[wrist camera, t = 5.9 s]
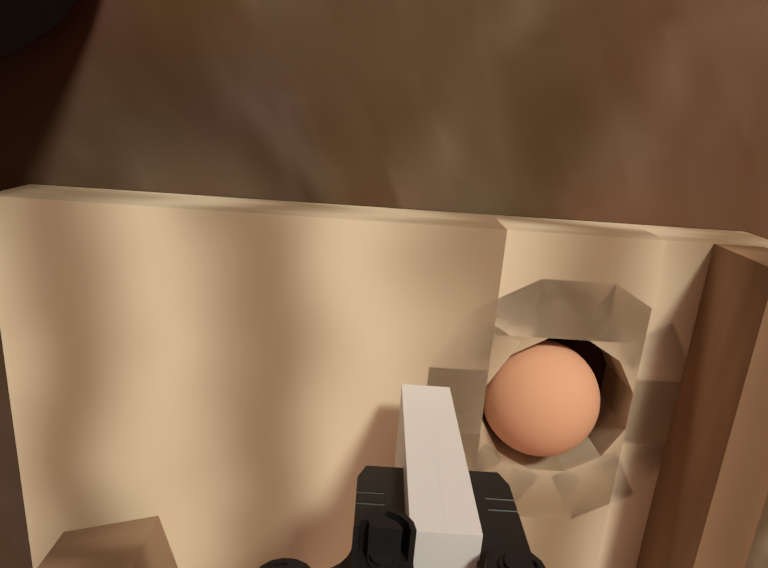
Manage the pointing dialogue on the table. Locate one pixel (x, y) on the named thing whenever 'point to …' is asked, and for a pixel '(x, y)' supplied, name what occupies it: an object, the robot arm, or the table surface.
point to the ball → (543, 400)
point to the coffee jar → (28, 21)
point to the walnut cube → (113, 547)
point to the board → (371, 370)
